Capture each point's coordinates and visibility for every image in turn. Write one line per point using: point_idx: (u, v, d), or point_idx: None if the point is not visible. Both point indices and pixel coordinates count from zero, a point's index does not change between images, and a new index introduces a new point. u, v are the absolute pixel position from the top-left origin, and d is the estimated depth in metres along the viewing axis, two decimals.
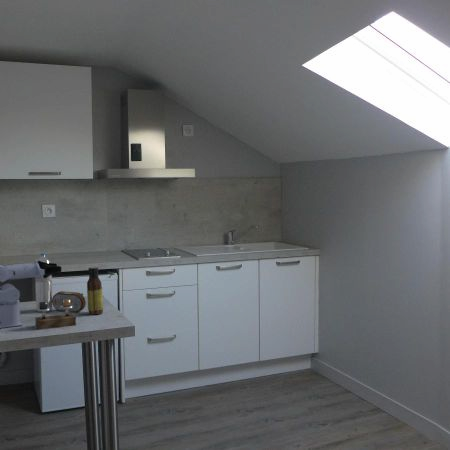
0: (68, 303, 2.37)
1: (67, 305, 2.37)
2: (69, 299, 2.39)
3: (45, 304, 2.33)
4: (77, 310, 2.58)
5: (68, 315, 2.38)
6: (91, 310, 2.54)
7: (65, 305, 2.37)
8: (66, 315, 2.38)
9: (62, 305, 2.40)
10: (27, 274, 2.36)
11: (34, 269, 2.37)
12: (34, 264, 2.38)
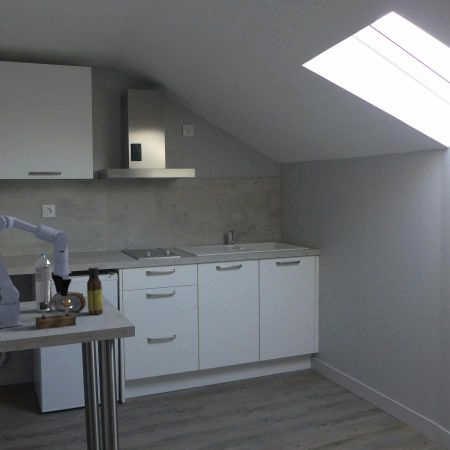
0: (68, 303, 2.37)
1: (67, 305, 2.37)
2: (69, 299, 2.39)
3: (45, 304, 2.33)
4: (77, 310, 2.58)
5: (68, 315, 2.38)
6: (91, 310, 2.54)
7: (65, 305, 2.37)
8: (66, 315, 2.38)
9: (62, 305, 2.40)
10: (59, 263, 2.41)
11: (64, 270, 2.42)
12: None
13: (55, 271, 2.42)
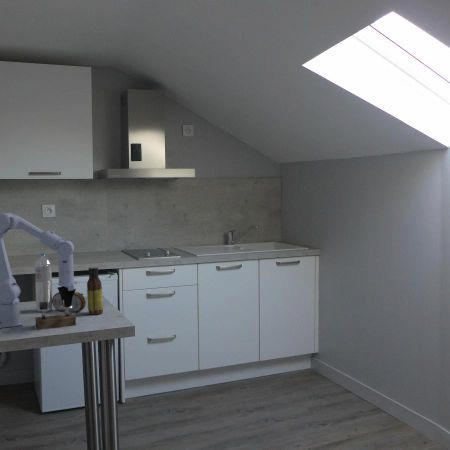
0: None
1: None
2: None
3: (45, 304, 2.33)
4: (77, 310, 2.58)
5: (68, 315, 2.38)
6: (91, 310, 2.54)
7: None
8: (66, 315, 2.38)
9: (62, 305, 2.40)
10: (65, 274, 2.34)
11: (69, 281, 2.35)
12: (73, 281, 2.37)
13: (60, 282, 2.35)
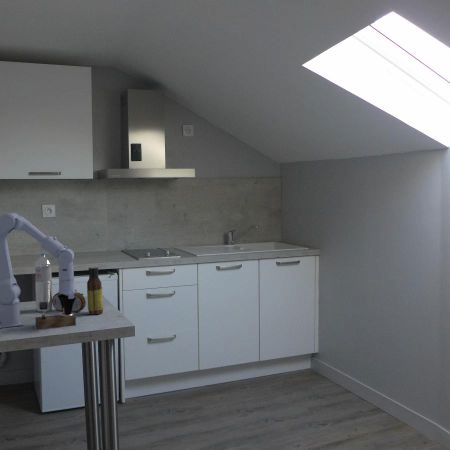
0: None
1: None
2: None
3: (45, 304, 2.33)
4: (77, 310, 2.58)
5: None
6: (91, 310, 2.54)
7: None
8: None
9: (62, 313, 2.40)
10: (65, 282, 2.35)
11: (69, 289, 2.35)
12: (73, 289, 2.38)
13: (60, 290, 2.35)
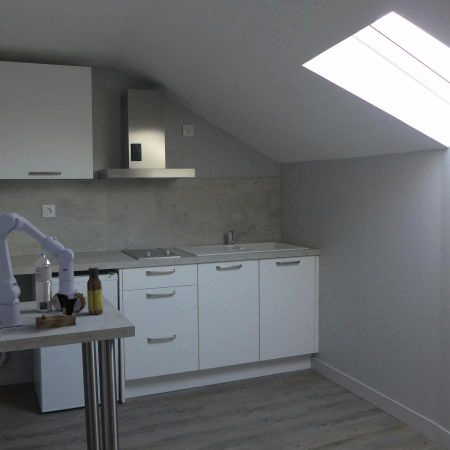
0: None
1: None
2: None
3: (45, 304, 2.33)
4: (77, 310, 2.58)
5: None
6: (91, 310, 2.54)
7: (65, 313, 2.37)
8: None
9: (62, 313, 2.40)
10: (65, 282, 2.35)
11: (69, 289, 2.35)
12: (73, 289, 2.38)
13: (60, 290, 2.35)
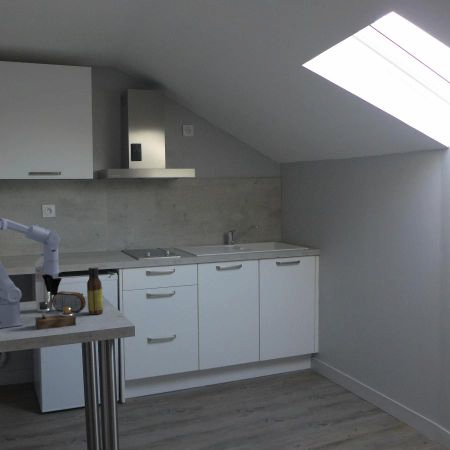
0: (68, 311, 2.37)
1: (67, 313, 2.37)
2: (69, 307, 2.39)
3: (45, 304, 2.33)
4: (77, 310, 2.58)
5: None
6: (91, 310, 2.54)
7: (65, 313, 2.37)
8: None
9: (62, 313, 2.40)
10: (50, 263, 2.43)
11: (54, 269, 2.44)
12: (58, 269, 2.46)
13: (45, 270, 2.44)
